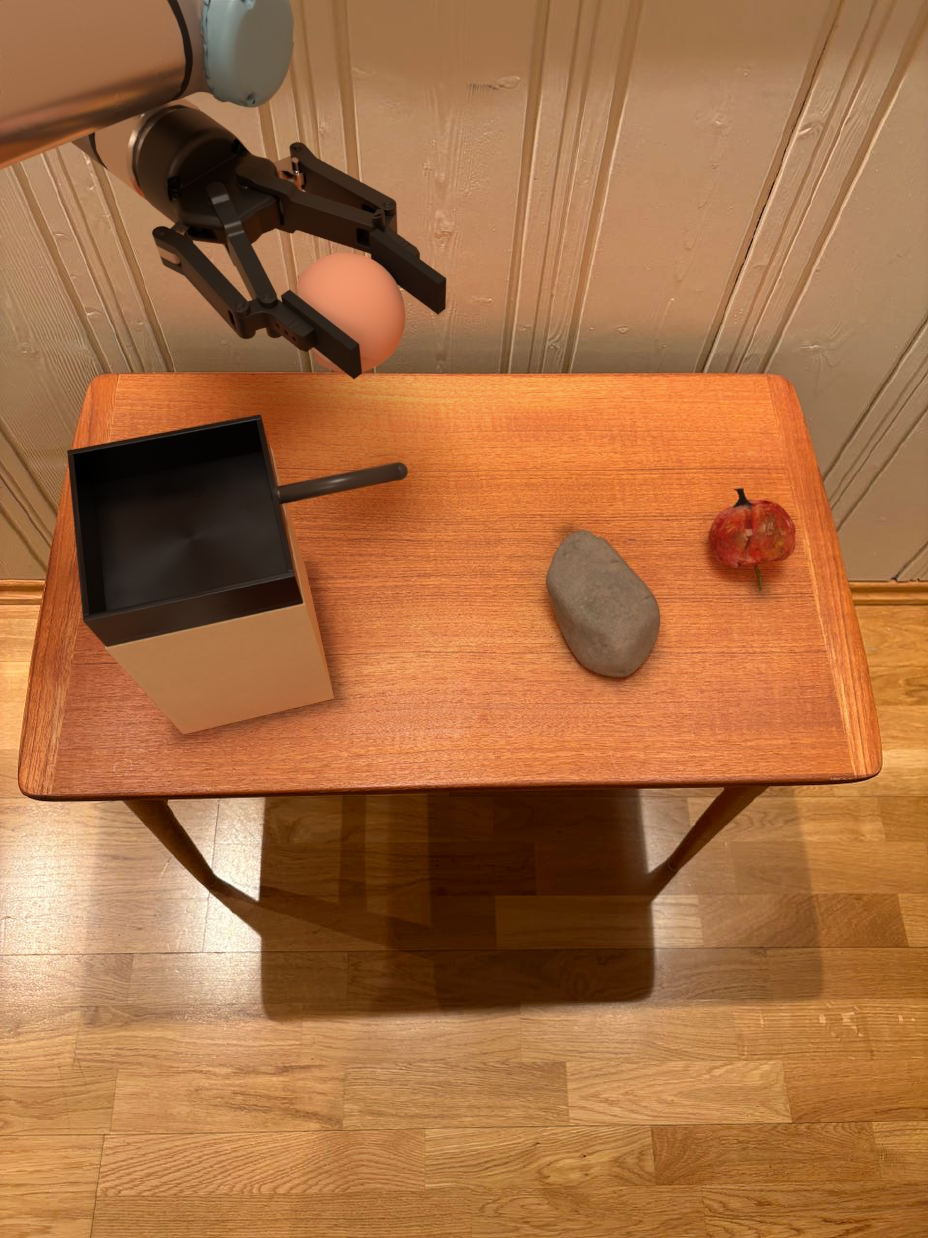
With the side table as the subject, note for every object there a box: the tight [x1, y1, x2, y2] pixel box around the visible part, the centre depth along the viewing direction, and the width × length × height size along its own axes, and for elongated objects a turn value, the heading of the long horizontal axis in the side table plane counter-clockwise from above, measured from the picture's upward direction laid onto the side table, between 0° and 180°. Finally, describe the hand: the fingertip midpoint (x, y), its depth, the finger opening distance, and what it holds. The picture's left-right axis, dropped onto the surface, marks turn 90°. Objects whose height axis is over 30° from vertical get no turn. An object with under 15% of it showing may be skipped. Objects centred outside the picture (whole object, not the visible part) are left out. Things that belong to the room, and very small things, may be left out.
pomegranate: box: [708, 487, 797, 591], centre depth 78 cm, size 7×7×10 cm
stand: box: [104, 447, 335, 735], centre depth 66 cm, size 13×13×19 cm
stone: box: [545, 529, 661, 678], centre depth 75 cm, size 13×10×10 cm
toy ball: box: [296, 251, 406, 374], centre depth 59 cm, size 8×8×8 cm
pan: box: [66, 414, 409, 647], centre depth 56 cm, size 22×13×4 cm, turn 105°
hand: (400, 328), depth 55 cm, fingers closed on toy ball, 7 cm apart
